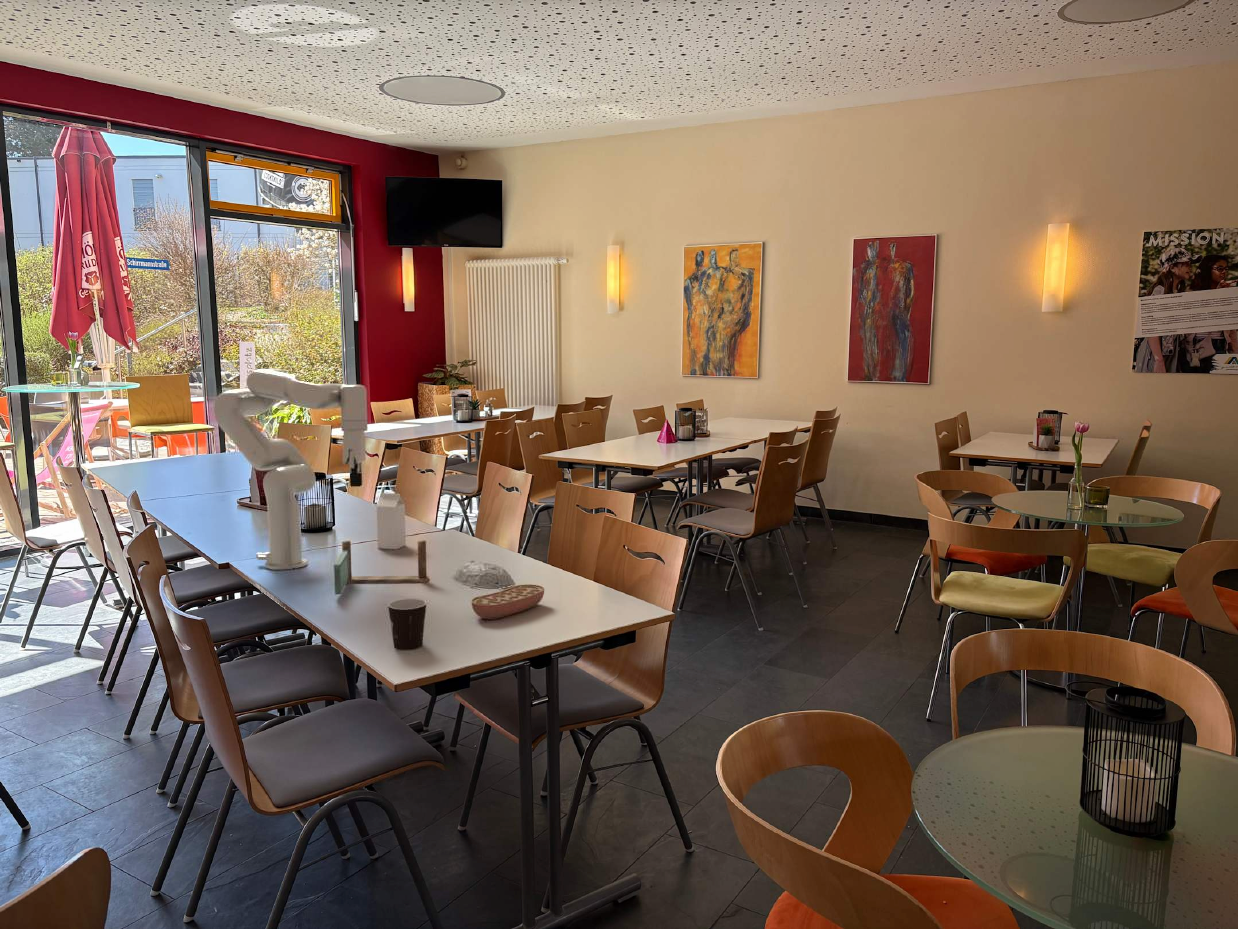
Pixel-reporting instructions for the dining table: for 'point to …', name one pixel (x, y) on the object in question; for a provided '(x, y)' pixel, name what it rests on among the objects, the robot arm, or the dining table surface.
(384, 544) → the milk carton
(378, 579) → the gate frame
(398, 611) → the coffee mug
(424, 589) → the dining table surface
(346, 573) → the gate leaf
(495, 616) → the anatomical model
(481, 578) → the grey rock
